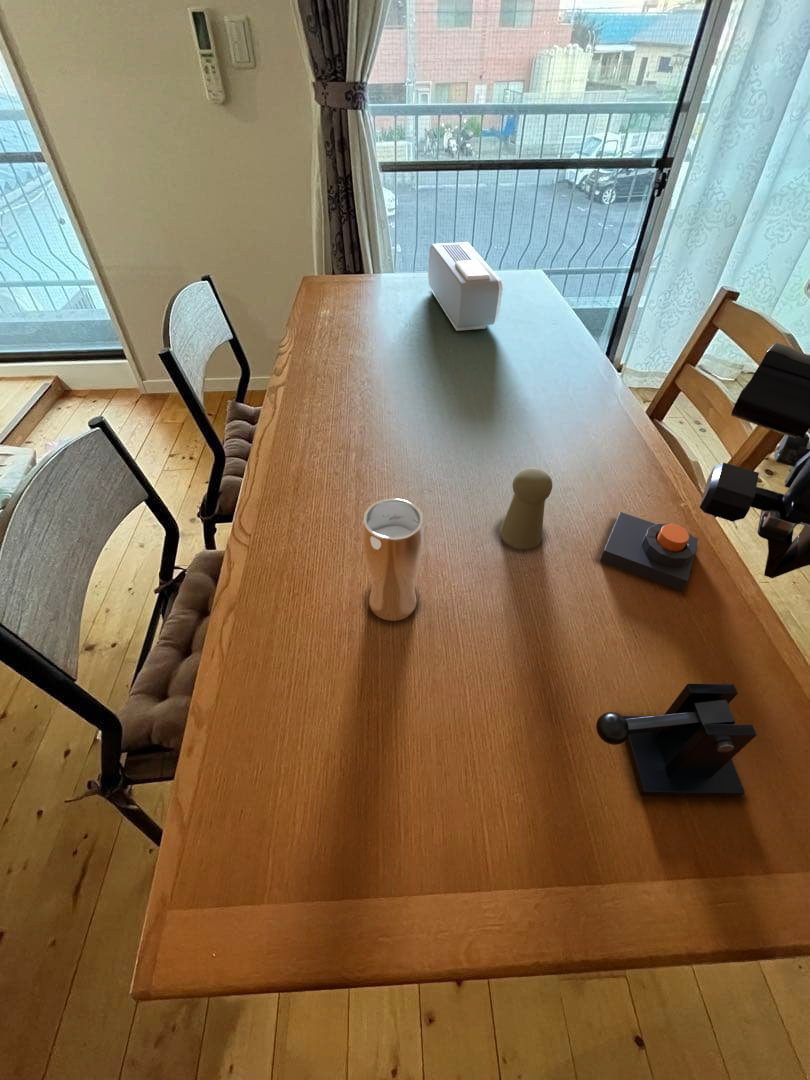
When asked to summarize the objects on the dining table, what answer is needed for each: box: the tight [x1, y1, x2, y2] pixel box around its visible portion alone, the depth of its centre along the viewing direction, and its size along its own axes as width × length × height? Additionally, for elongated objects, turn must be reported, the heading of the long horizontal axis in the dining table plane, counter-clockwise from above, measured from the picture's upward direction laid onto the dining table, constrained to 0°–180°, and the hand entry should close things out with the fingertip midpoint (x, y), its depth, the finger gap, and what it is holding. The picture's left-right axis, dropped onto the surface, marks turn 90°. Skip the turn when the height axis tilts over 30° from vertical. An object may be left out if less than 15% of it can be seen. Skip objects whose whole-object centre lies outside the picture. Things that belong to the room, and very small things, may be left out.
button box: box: [599, 511, 699, 592], centre depth 77 cm, size 11×9×4 cm
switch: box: [595, 699, 736, 746], centre depth 52 cm, size 12×3×3 cm, turn 89°
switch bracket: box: [622, 682, 757, 799], centre depth 54 cm, size 10×8×11 cm
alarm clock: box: [427, 241, 504, 332], centre depth 129 cm, size 27×9×12 cm, turn 13°
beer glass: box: [362, 498, 425, 622], centre depth 66 cm, size 7×7×15 cm
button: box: [657, 523, 690, 552], centre depth 74 cm, size 4×4×2 cm
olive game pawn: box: [499, 467, 553, 550], centre depth 77 cm, size 6×6×11 cm
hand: (768, 574), depth 59 cm, fingers closed
